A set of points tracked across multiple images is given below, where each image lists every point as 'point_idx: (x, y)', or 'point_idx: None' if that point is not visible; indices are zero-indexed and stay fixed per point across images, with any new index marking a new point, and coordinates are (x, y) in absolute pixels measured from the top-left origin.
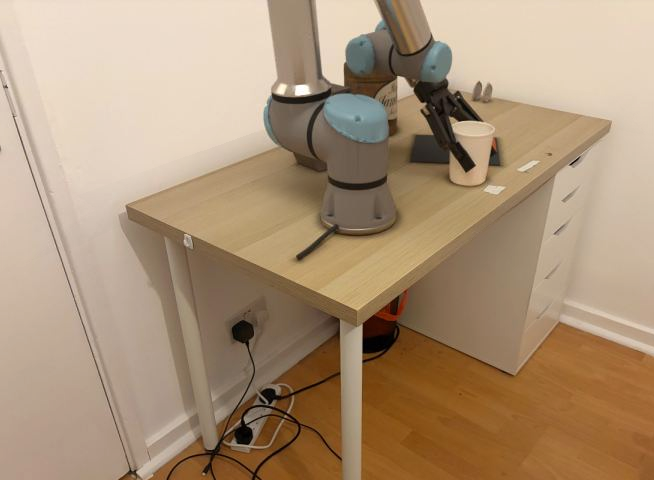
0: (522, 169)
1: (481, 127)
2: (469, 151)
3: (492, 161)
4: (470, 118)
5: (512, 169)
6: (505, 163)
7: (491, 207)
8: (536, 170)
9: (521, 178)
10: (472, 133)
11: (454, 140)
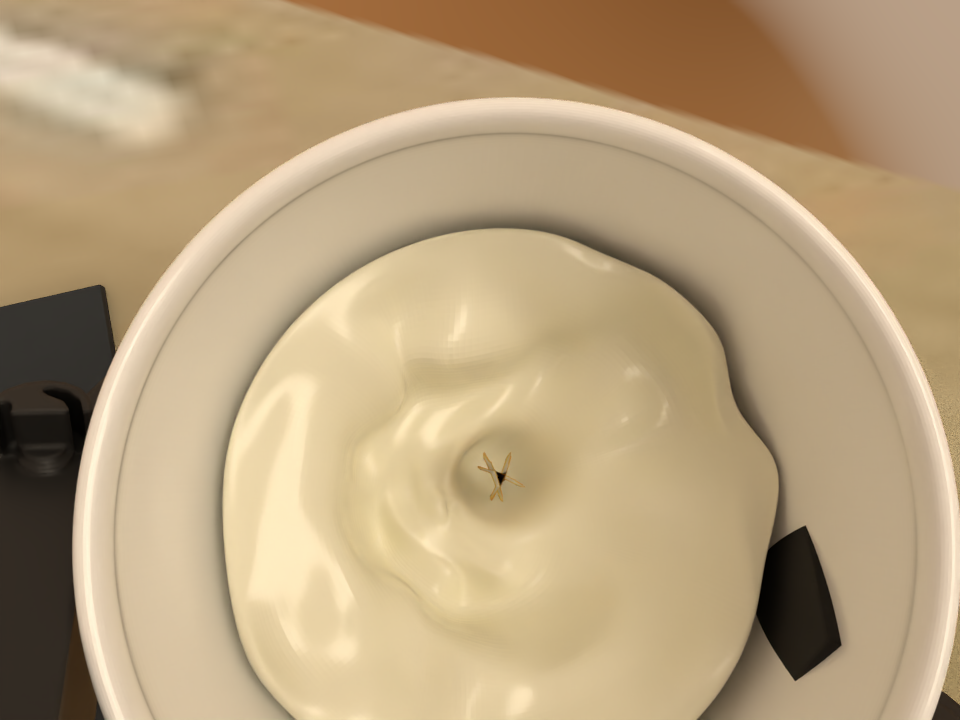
0: (129, 105)
1: (161, 408)
2: (789, 453)
3: (37, 365)
4: (14, 675)
5: (153, 179)
6: (28, 256)
7: (948, 202)
8: (119, 3)
9: (325, 86)
10: (191, 554)
11: (950, 717)
